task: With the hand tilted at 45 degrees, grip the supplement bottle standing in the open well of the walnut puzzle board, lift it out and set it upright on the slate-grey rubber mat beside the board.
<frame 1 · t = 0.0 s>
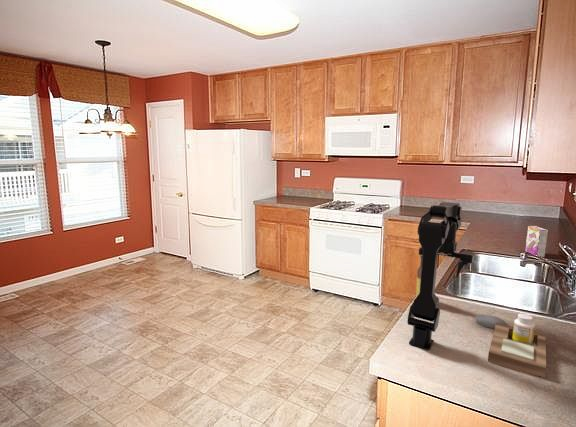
hand: (444, 275, 138), 15 cm above the worktop, tool pointing down, fingers open, 9 cm apart
supplement bottle: (521, 346, 116), resting in puzzle board
sauce bottle: (423, 301, 150), on the worktop
rubber mat: (490, 322, 132), on the worktop
candy bar box: (534, 255, 213), on the worktop
puzzle board: (517, 351, 113), on the worktop
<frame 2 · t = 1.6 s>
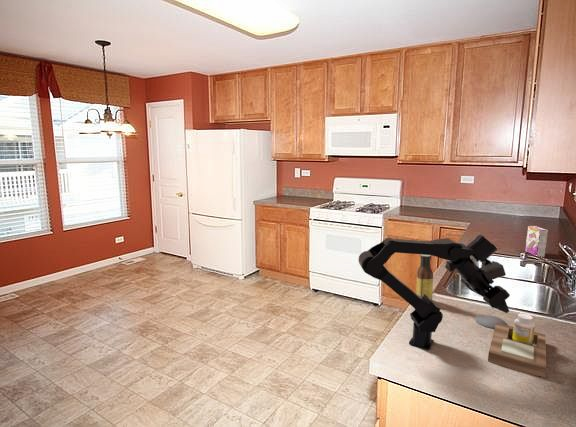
hand: (499, 305, 115), 13 cm above the worktop, tool tilted 45°, fingers open, 9 cm apart
nothing on the worktop moved.
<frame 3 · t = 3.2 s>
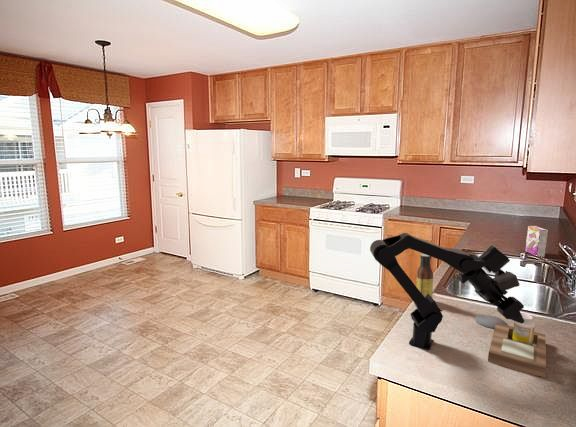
hand: (514, 315, 114), 10 cm above the worktop, tool tilted 45°, fingers open, 9 cm apart
nothing on the worktop moved.
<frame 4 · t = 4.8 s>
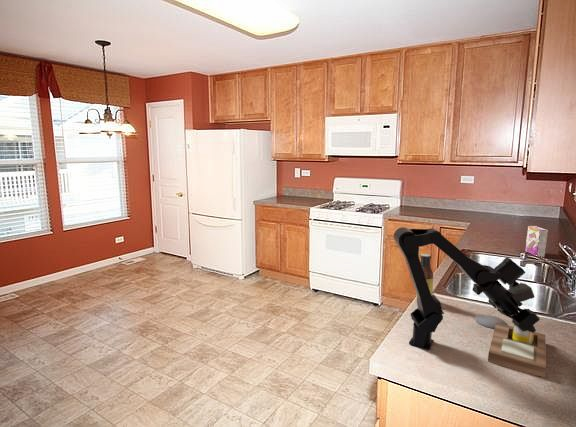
hand: (528, 326, 115), 7 cm above the worktop, tool tilted 45°, fingers closed on supplement bottle, 6 cm apart
supplement bottle: (521, 346, 116), resting in puzzle board, touching gripper
everything else where it was.
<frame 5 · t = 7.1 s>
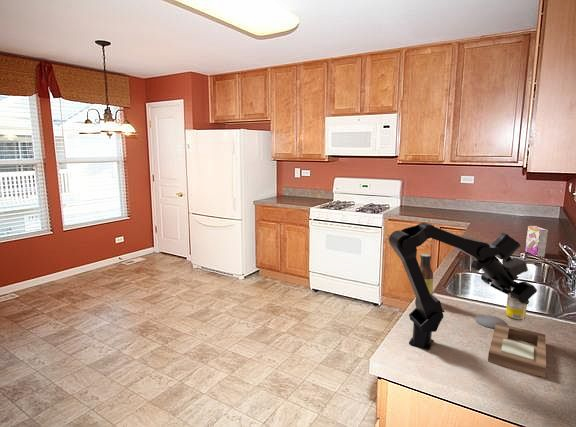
hand: (520, 299, 119), 13 cm above the worktop, tool tilted 45°, fingers closed on supplement bottle, 6 cm apart
supplement bottle: (514, 319, 120), point 6 cm above the worktop, touching gripper
everything else where it was.
when the fingers open (8 cm above the worktop, at t = 9.4 s): supplement bottle drops 1 cm, resting on rubber mat.
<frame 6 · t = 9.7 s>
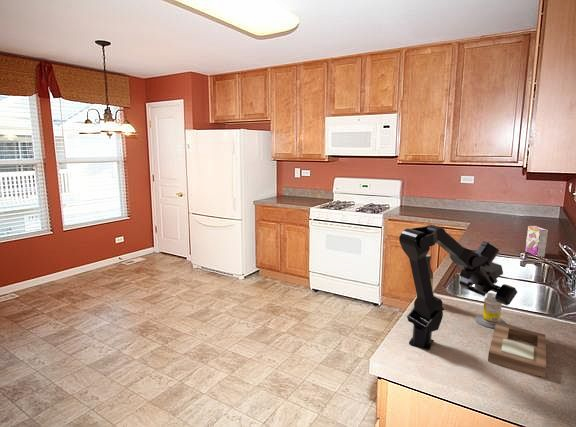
hand: (495, 299, 131), 9 cm above the worktop, tool tilted 45°, fingers open, 8 cm apart
supplement bottle: (490, 321, 131), resting on rubber mat
everything else where it was.
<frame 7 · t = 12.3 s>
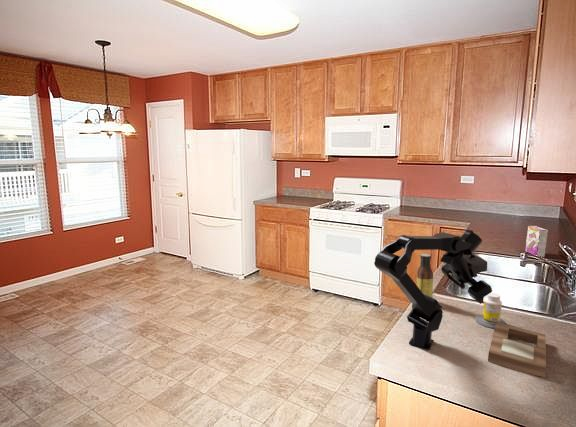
hand: (472, 295, 126), 12 cm above the worktop, tool tilted 35°, fingers open, 9 cm apart
nothing on the worktop moved.
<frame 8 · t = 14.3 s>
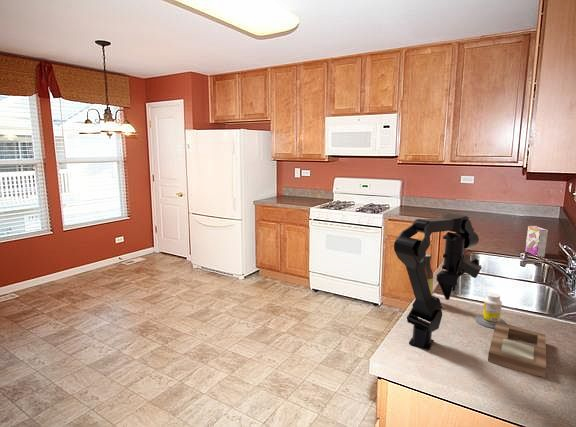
hand: (450, 294, 124), 13 cm above the worktop, tool pointing down, fingers open, 9 cm apart
nothing on the worktop moved.
at the end: supplement bottle inside the target area on the rubber mat (0.2 cm from its centre), point 0.3 cm above the rubber mat's base; supplement bottle tilted 0°; the gripper is holding nothing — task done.
